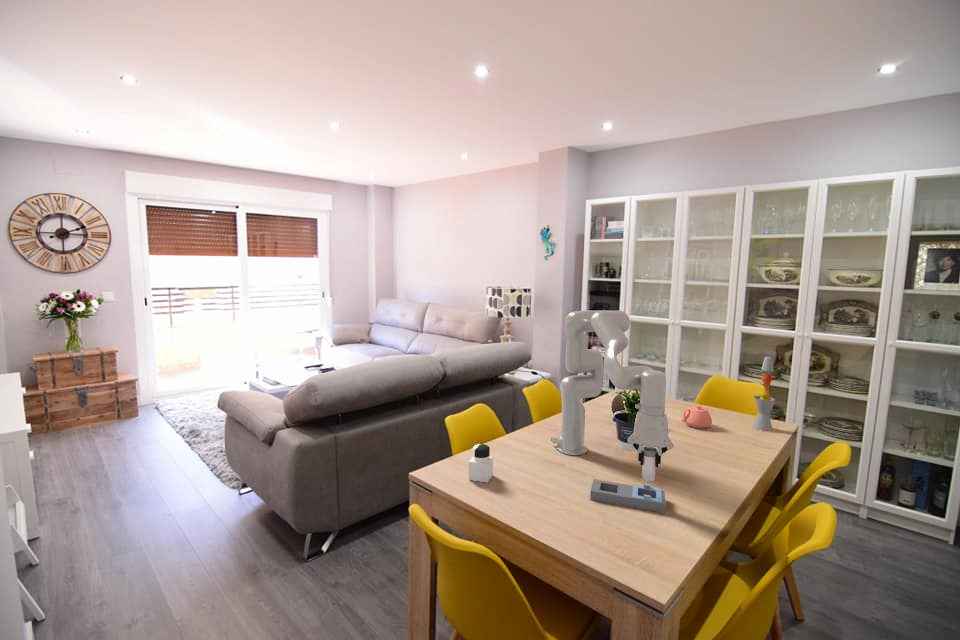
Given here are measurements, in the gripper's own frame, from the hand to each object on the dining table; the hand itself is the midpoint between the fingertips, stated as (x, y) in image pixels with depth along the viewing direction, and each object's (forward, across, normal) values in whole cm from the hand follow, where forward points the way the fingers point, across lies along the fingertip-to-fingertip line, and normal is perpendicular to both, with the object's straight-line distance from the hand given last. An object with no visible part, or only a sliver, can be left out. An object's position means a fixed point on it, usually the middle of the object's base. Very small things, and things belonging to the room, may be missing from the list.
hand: (649, 464), depth 146 cm
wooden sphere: (+13, -10, +80) cm, 82 cm away
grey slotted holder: (+13, -6, 0) cm, 15 cm away
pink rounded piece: (+13, +22, +87) cm, 91 cm away
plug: (+5, 0, 0) cm, 5 cm away
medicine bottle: (+13, -57, -3) cm, 58 cm away
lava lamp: (+13, +52, +95) cm, 110 cm away
